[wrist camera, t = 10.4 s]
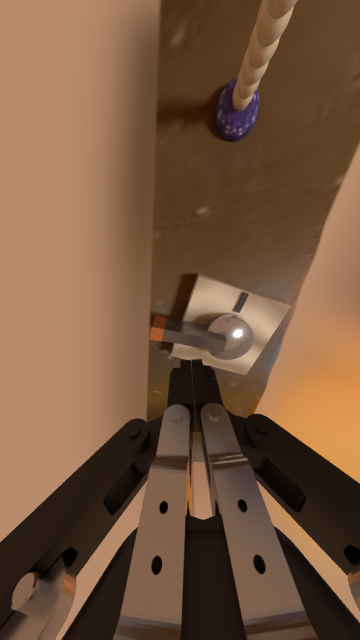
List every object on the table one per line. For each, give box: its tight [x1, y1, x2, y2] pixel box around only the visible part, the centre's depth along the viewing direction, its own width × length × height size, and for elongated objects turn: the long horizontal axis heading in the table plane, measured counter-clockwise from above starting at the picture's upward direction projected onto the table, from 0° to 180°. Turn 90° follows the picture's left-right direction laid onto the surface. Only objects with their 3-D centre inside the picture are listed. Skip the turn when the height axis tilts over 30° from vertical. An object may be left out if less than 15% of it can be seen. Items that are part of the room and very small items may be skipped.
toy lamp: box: [215, 0, 298, 141], centre depth 10 cm, size 5×5×17 cm
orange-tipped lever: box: [150, 313, 254, 360], centre depth 24 cm, size 15×7×4 cm, turn 79°
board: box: [171, 273, 291, 375], centre depth 27 cm, size 14×14×2 cm
